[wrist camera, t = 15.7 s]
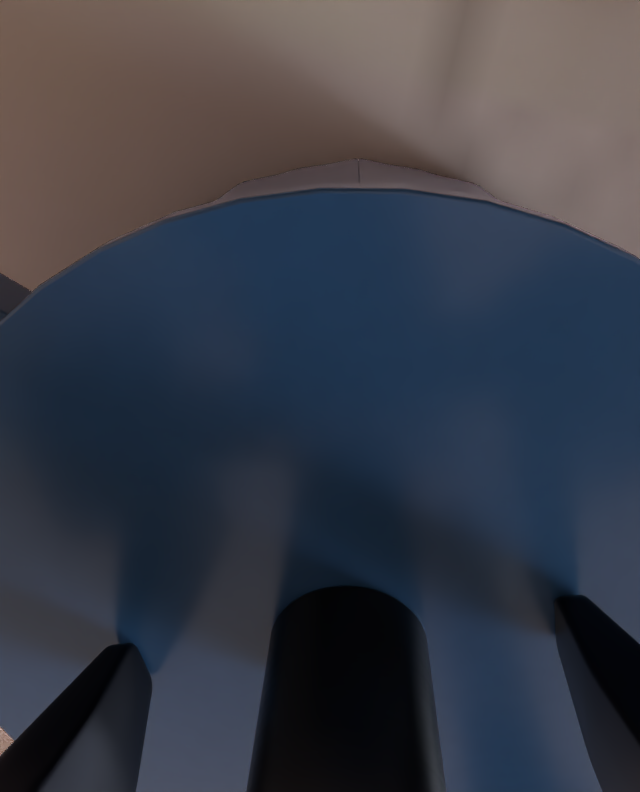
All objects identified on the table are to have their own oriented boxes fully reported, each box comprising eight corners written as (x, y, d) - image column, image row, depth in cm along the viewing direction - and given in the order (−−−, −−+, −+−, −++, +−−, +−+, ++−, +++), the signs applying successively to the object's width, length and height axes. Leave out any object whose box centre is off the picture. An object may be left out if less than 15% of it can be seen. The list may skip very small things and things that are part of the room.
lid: (417, 882, 14) (445, 1248, 10) (-138, 641, 12) (-458, 998, 7) (972, 521, 9) (1602, 959, 4) (189, -96, 6) (-275, -616, 2)
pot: (464, 691, 20) (509, 934, 14) (-57, 417, 16) (-284, 596, 10) (792, 424, 15) (1066, 631, 9) (148, -67, 11) (-74, -235, 5)
